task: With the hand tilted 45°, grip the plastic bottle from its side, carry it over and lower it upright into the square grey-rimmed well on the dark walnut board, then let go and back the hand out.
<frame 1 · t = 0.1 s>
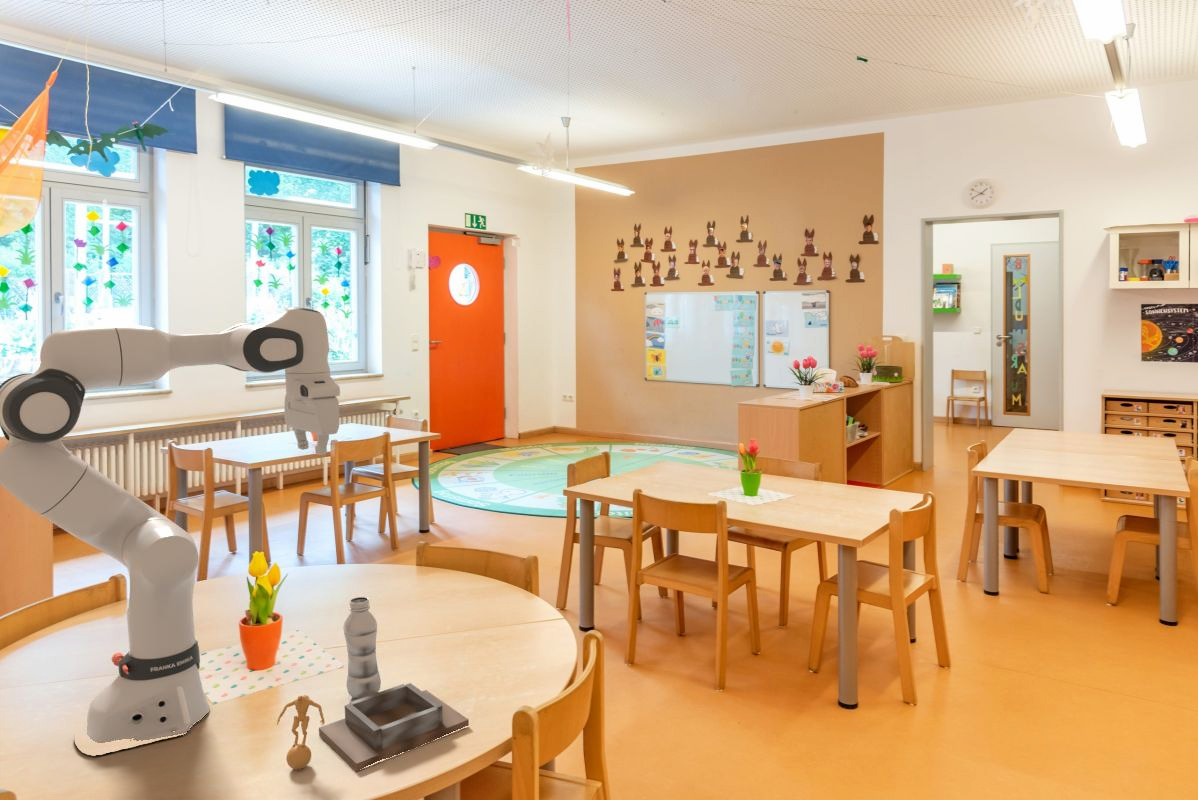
hand: (312, 451, 173), 48 cm above the table, tool pointing down, fingers open, 8 cm apart
figurine: (302, 765, 143), on the table
plastic bottle: (364, 696, 167), on the table
bottle holder board: (394, 731, 153), on the table
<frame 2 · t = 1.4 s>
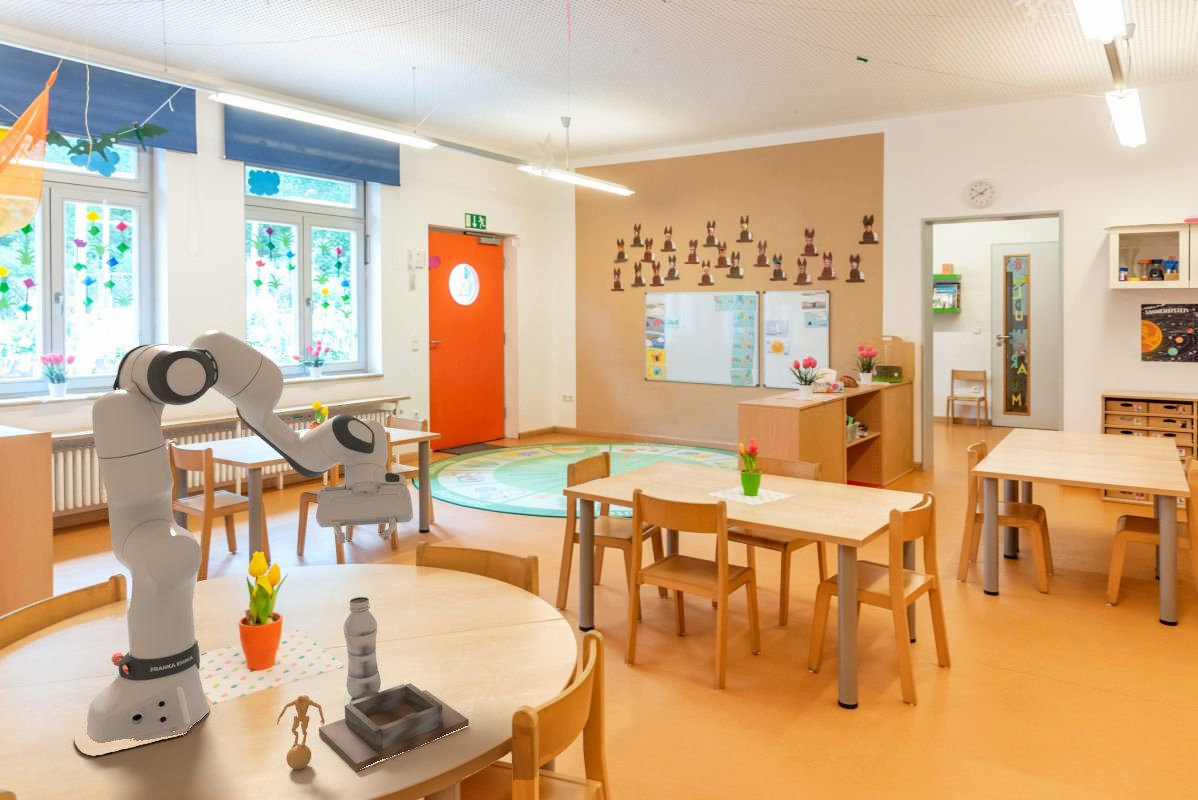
hand: (364, 540, 176), 29 cm above the table, tool tilted 45°, fingers open, 8 cm apart
nothing on the table moved.
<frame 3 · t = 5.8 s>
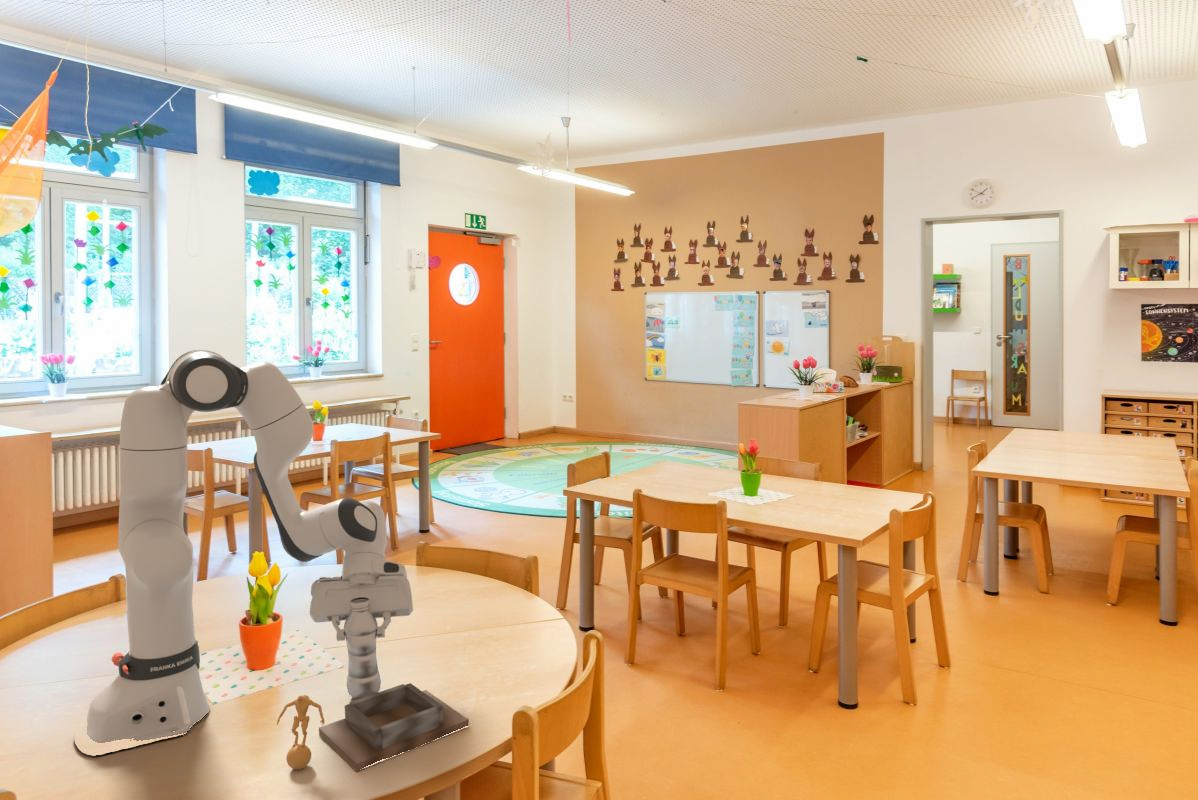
hand: (360, 638, 165), 12 cm above the table, tool tilted 45°, fingers closed on plastic bottle, 6 cm apart
plastic bottle: (364, 696, 167), on the table, touching gripper
everything else where it was.
when the fingers open (15 cm above the table, at t = 12.7 s): plastic bottle moves 3 cm, resting on bottle holder board.
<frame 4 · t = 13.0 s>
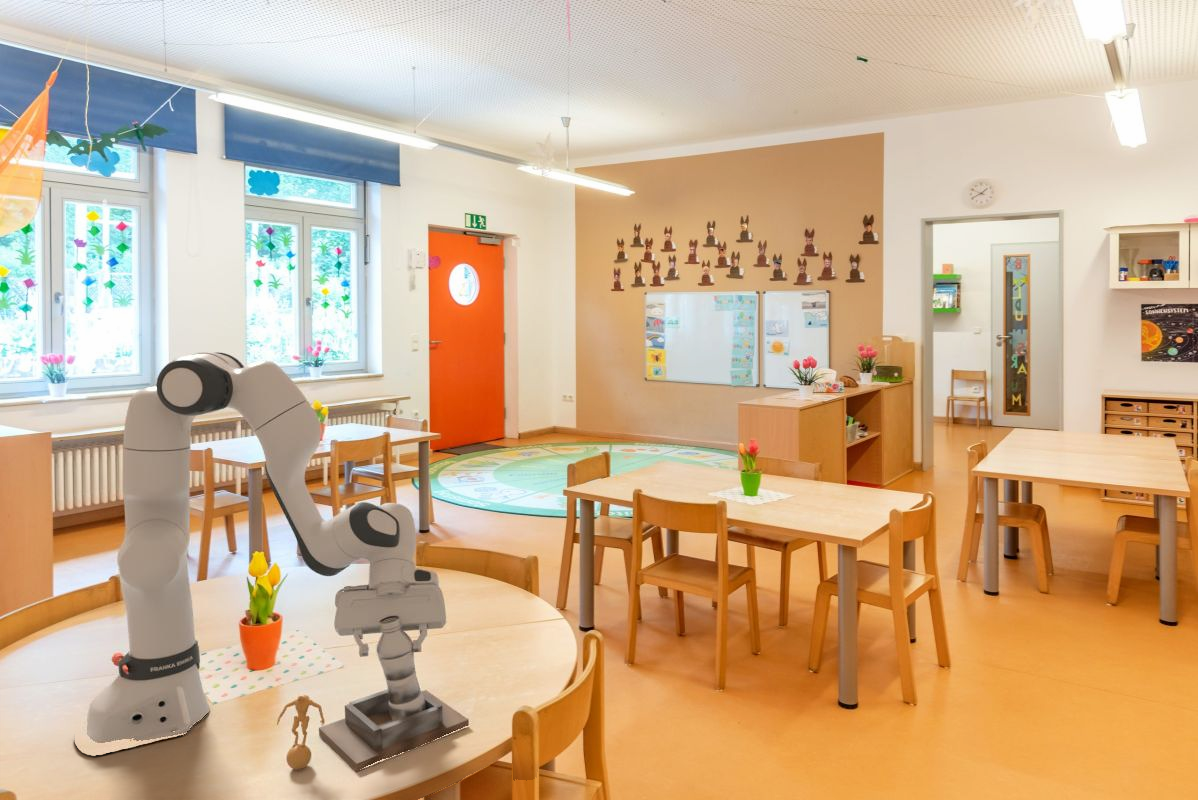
hand: (390, 653, 151), 15 cm above the table, tool tilted 45°, fingers open, 8 cm apart
plastic bottle: (410, 721, 153), point 2 cm above the table, touching bottle holder board, gripper
everything else where it was.
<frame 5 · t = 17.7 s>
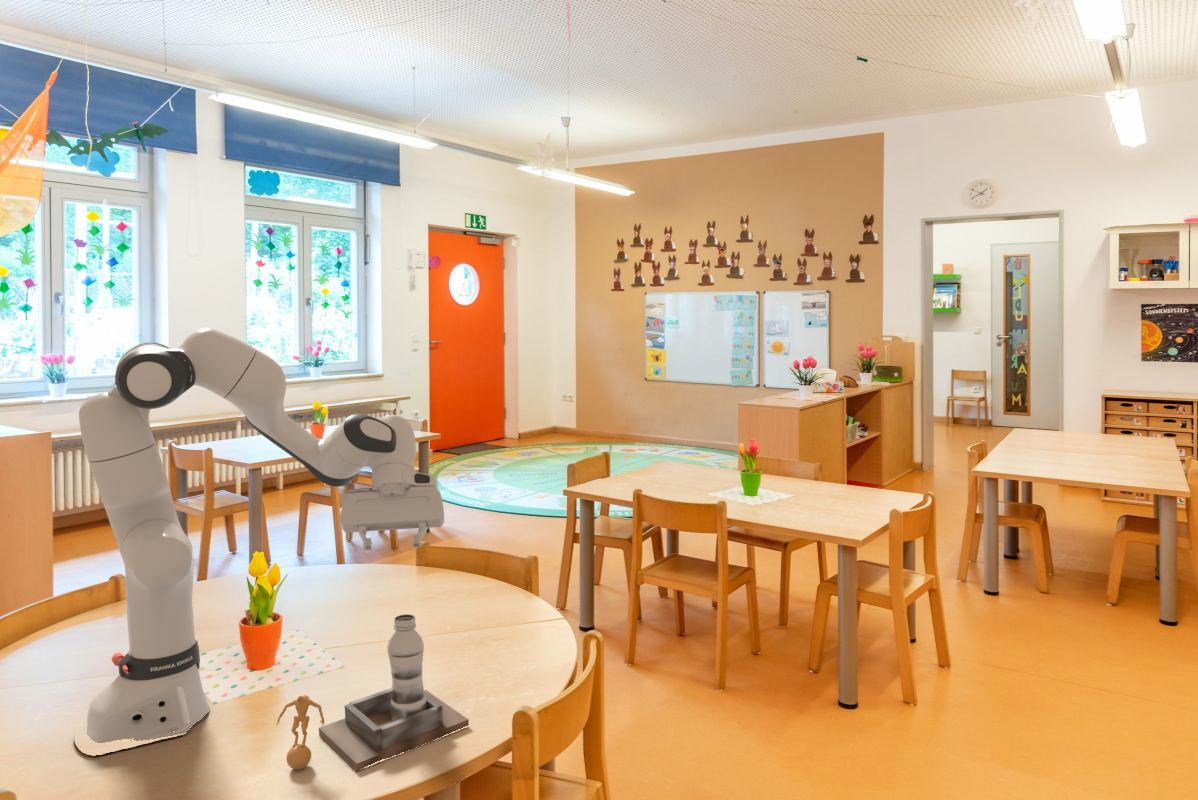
hand: (392, 547, 161), 31 cm above the table, tool tilted 45°, fingers open, 8 cm apart
plastic bottle: (409, 723, 153), point 1 cm above the table, touching bottle holder board
everything else where it was.
at the end: plastic bottle inside the target area on the bottle holder board (2.7 cm from its centre), point 1.3 cm above the bottle holder board's base; plastic bottle tilted 1°; the gripper is holding nothing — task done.
